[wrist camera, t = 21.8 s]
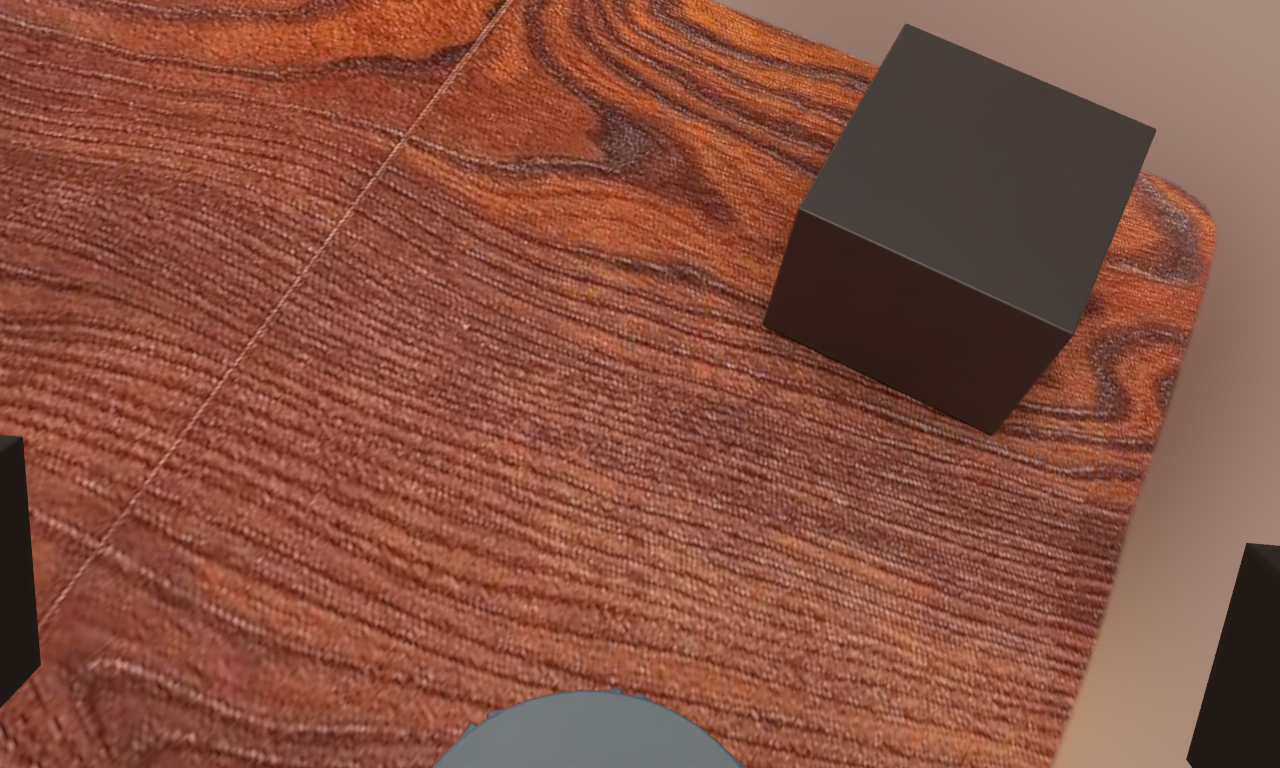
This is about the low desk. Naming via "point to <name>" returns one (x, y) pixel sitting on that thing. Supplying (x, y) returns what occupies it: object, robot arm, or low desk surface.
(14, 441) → the robot arm
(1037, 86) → the riser
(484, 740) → the hat
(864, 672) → the low desk surface
